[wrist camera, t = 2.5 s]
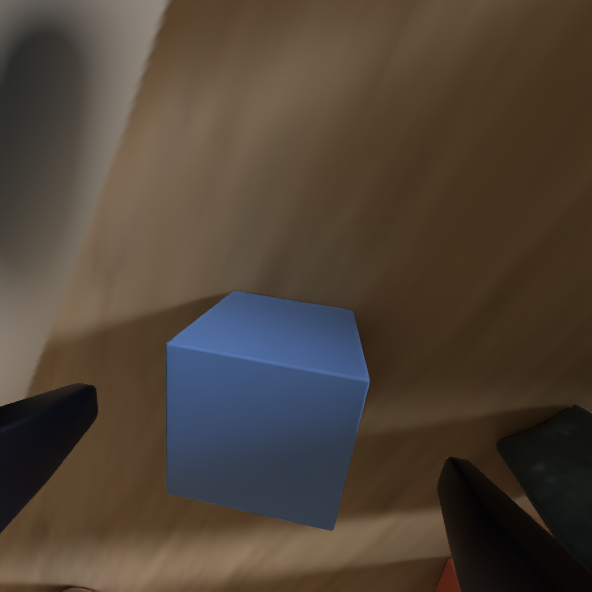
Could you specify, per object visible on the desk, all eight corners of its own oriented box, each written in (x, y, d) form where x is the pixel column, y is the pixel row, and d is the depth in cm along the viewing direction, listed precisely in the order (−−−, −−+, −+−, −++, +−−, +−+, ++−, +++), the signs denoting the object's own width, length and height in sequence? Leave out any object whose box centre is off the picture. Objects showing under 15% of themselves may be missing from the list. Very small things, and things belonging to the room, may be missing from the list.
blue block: (353, 309, 10) (371, 380, 6) (332, 412, 11) (333, 532, 7) (233, 289, 10) (164, 342, 6) (226, 392, 12) (165, 494, 7)
